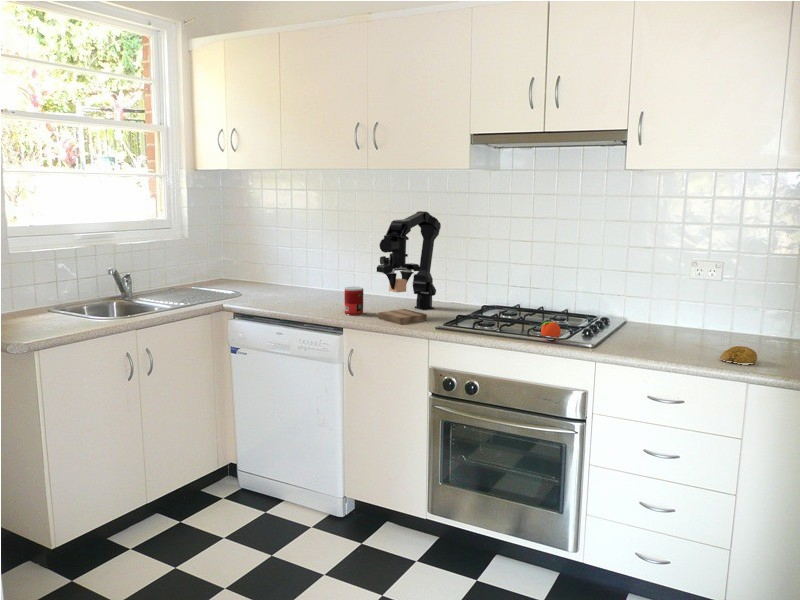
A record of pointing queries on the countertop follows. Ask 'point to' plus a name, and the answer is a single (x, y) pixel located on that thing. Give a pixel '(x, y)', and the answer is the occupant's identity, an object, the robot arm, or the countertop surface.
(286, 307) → the countertop surface
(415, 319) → the base board
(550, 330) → the clementine
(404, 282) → the block
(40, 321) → the countertop surface
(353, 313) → the canned food
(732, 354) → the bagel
